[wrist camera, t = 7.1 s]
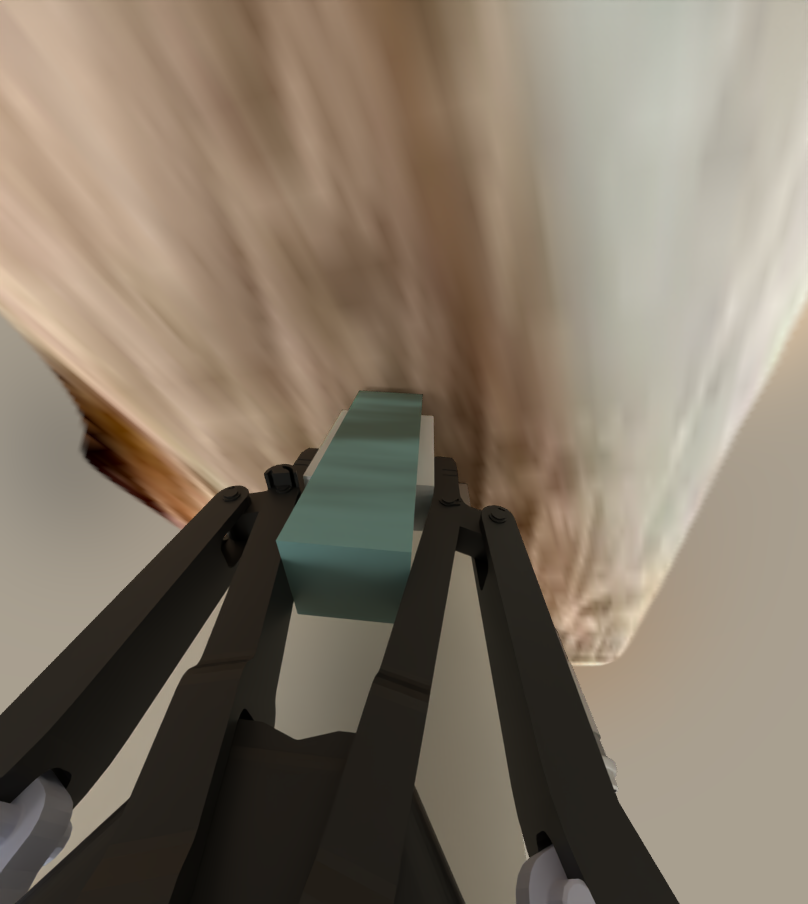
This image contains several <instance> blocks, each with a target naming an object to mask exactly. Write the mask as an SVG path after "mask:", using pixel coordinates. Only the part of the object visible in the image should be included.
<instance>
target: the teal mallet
mask: <svg viewBox="0 0 808 904" xmlns="http://www.w3.org/2000/svg"><path fill="white" fill-rule="evenodd" d="M422 397H423V394H407V393H391V392H375V391H359V392H358V394H357V396H356V398H355V399H354V401H353V403H352V405H351V407H350V408H349V410H348V412H347V414H346V416H345V417H344V419H343V421H342V423H341V425H340V426H339V428H338V430H337V432H336V434H335V435H334V437H333V439H332V441H331V443H330V444H329V446H328V448H327V450H326V451H325V453H324V455H323V457H322V459H321V460H320V462H319V464H318V466H317V468H316V469H315V471H314V473H313V475H312V477H311V478H310V480H309V482H308V484H307V486H306V487H305V489H304V491H303V493H302V495H301V496H300V498H299V500H298V502H297V504H296V505H295V507H294V509H293V511H292V513H291V514H290V516H289V518H288V520H287V522H286V523H285V525H284V527H283V529H282V531H281V532H280V534H279V536H278V538H277V539H276V543H277V546H278V549H279V553H280V556H281V559H282V563H283V566H284V570H285V573H286V576H287V580H288V583H289V586H290V590H291V593H292V597H293V600H294V603H295V607H296V610H297V613H298V614H301V615H311V616H321V617H331V618H341V619H351V620H361V621H371V622H381V623H391V624H394V622H395V618H396V615H397V612H398V609H399V606H400V602H401V599H402V596H403V593H404V590H405V586H406V583H407V580H408V577H409V574H410V568H411V554H412V540H413V526H414V512H415V497H416V483H417V469H418V454H419V440H420V426H421V411H422Z"/></svg>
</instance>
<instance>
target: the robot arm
mask: <svg viewBox="0 0 808 904" xmlns="http://www.w3.org/2000/svg"><path fill="white" fill-rule="evenodd" d="M347 412H348V410H342V411H341V413H340V415H339V416H338V418H337V420H336V421H335V423H334V425H333V426H332V428H331V430H330V431H329V433H328V435H327V436H326V438H325V440H324V441H323V443H322V445H321V446H320V448H319V449H316V448H308V449H306V450H305V451H304V452H302V453H301V454H300V456H299V457H298V459H297V460H296V462H295V463H294V465H293V466H292V465H289V464H281V465H276V466H273V467H271V468H269V469H268V470H267V471H266V472H265V473H264V476H265V479H266V483H267V487H268V490H267V491H264V492H258V493H250V494H249V491H248V489H247V488H246V487H243V486H232V487H228V488H225V489H223V490H221V491H220V492H219V493H217V494H216V495H215V496H214V497H213V498H212V499H211V500H210V501H209V502H208V503H207V505H206V506H205V507H204V508H203V509H202V510H201V511H200V512H199V513H198V514H197V515H196V516H195V517H194V518H193V519H192V520H191V521H190V522H189V523H188V524H187V525H186V526H185V527H184V528H183V529H182V530H181V531H180V532H179V533H178V534H177V535H176V536H175V537H174V538H173V539H172V541H170V542H169V543H168V544H167V545H166V546H165V547H164V549H162V550H161V551H160V553H159V554H158V555H157V556H156V557H155V558H154V559H153V560H152V561H151V562H150V563H149V564H148V565H147V566H146V567H145V568H144V569H143V570H142V571H141V572H140V573H139V574H138V575H137V576H136V577H135V578H134V579H133V580H132V581H131V582H130V583H129V584H128V585H127V586H126V587H125V588H124V589H123V590H122V591H121V592H120V593H119V594H118V595H117V596H116V598H115V599H114V600H113V601H112V602H111V603H110V604H109V605H108V606H107V607H106V608H105V609H104V610H103V611H102V612H101V613H100V614H99V615H98V616H97V617H96V618H95V619H94V620H93V621H92V622H91V623H90V624H89V625H88V626H87V627H86V628H85V629H84V630H83V631H82V632H81V633H80V634H79V635H78V636H77V637H76V638H75V639H74V640H73V641H72V642H71V643H70V644H69V645H68V647H67V648H66V649H65V650H64V651H63V652H62V653H61V654H60V655H59V656H58V657H57V658H56V659H55V660H54V661H53V662H52V663H51V664H50V665H49V666H48V667H47V668H46V669H45V670H44V671H43V672H42V673H41V674H40V675H39V676H38V677H37V678H36V679H35V680H34V681H33V682H32V683H31V684H30V685H29V687H27V688H26V690H25V691H24V692H22V694H21V695H20V696H19V697H18V698H17V699H16V700H15V701H14V702H13V703H12V704H11V705H10V706H9V707H8V708H7V709H6V710H5V711H4V712H3V713H2V714H1V715H0V904H465V901H464V899H463V897H462V894H461V892H460V890H459V887H458V885H457V883H456V880H455V878H454V876H453V873H452V871H451V869H450V866H449V864H448V862H447V859H446V857H445V855H444V852H443V850H442V848H441V845H440V843H439V841H438V838H437V836H436V834H435V831H434V829H433V827H432V824H431V822H430V820H429V817H428V815H427V813H426V810H425V808H424V806H423V803H422V801H421V799H420V796H419V794H418V792H417V789H416V787H415V779H416V773H417V768H418V762H419V756H420V751H421V745H422V739H423V734H424V728H425V722H426V716H427V711H428V705H429V699H430V692H431V686H432V680H433V675H434V669H435V663H436V658H437V652H438V646H439V641H440V635H441V629H442V624H443V618H444V612H445V607H446V601H447V595H448V590H449V584H450V578H451V573H452V567H453V561H454V556H455V551H457V552H460V553H463V554H465V555H468V556H471V559H472V565H473V571H474V576H475V582H476V588H477V594H478V599H479V605H480V611H481V617H482V622H483V628H484V634H485V640H486V645H487V651H488V657H489V662H490V668H491V674H492V680H493V685H494V691H495V697H496V703H497V708H498V714H499V720H500V726H501V731H502V737H503V743H504V749H505V754H506V760H507V766H508V771H509V777H510V783H511V788H512V793H513V798H514V802H515V807H516V812H517V816H518V820H519V824H520V827H521V831H522V834H523V837H524V841H525V845H526V848H527V852H528V855H529V857H530V858H529V859H528V860H527V861H526V862H525V863H524V864H523V865H522V867H521V869H520V872H519V874H518V878H517V884H516V904H679V902H678V901H677V899H676V897H675V895H674V894H673V892H672V890H671V889H670V887H669V885H668V884H667V882H666V880H665V879H664V877H663V875H662V874H661V872H660V870H659V869H658V867H657V865H656V864H655V862H654V861H653V859H652V857H651V855H650V854H649V852H648V850H647V849H646V847H645V846H644V844H643V842H642V840H641V839H640V837H639V835H638V834H637V832H636V830H635V829H634V827H633V825H632V824H631V822H630V820H629V819H628V817H627V815H626V814H625V812H624V810H623V809H622V807H621V805H620V804H619V802H618V799H617V796H616V793H615V791H614V788H613V785H612V782H611V780H610V777H609V774H608V771H607V769H606V766H605V763H604V761H603V758H602V755H601V752H600V750H599V747H598V744H597V742H596V739H595V736H594V733H593V731H592V728H591V725H590V723H589V720H588V717H587V714H586V712H585V709H584V706H583V703H582V701H581V698H580V695H579V693H578V690H577V687H576V684H575V682H574V679H573V676H572V674H571V671H570V668H569V665H568V663H567V660H566V657H565V655H564V652H563V649H562V646H561V644H560V641H559V638H558V636H557V633H556V630H555V627H554V625H553V622H552V619H551V616H550V614H549V611H548V608H547V606H546V603H545V600H544V597H543V595H542V592H541V589H540V587H539V584H538V581H537V578H536V576H535V573H534V570H533V568H532V565H531V562H530V559H529V557H528V554H527V551H526V548H525V546H524V543H523V540H522V538H521V535H520V532H519V529H518V527H517V524H516V521H515V519H514V517H513V515H512V513H511V512H509V511H508V510H507V509H505V508H503V507H501V506H495V505H493V506H487V507H485V508H484V509H483V510H482V511H481V510H478V509H475V508H472V507H470V506H468V505H467V504H465V503H464V502H463V499H462V498H461V496H460V490H459V482H458V473H457V465H456V463H455V461H454V460H453V459H452V458H447V457H434V416H426V415H421V426H420V440H419V454H418V469H417V483H416V497H415V512H414V526H413V530H414V531H423V532H422V535H421V538H420V541H419V545H418V548H417V551H416V554H415V557H414V561H413V564H412V567H411V570H410V574H409V577H408V580H407V583H406V586H405V590H404V593H403V596H402V599H401V602H400V606H399V609H398V612H397V615H396V618H395V622H394V625H393V628H392V631H391V635H390V638H389V641H388V644H387V647H386V651H385V654H384V657H383V660H382V663H381V666H380V669H379V671H378V673H377V674H376V675H375V678H374V680H373V682H372V685H371V688H370V691H369V694H368V697H367V700H366V703H365V706H364V709H363V712H362V715H361V719H360V722H359V725H358V728H357V731H356V733H353V732H344V731H336V732H332V733H327V734H323V735H318V736H314V737H309V738H305V739H300V740H297V739H294V738H292V737H290V736H288V735H286V734H284V733H283V732H281V731H279V730H277V729H275V728H274V727H275V717H276V704H275V700H276V691H277V686H278V681H279V675H280V670H281V665H282V660H283V655H284V649H285V644H286V639H287V634H288V628H289V623H290V618H291V613H292V608H293V602H294V600H293V597H292V593H291V590H290V586H289V583H288V580H287V576H286V573H285V570H284V566H283V563H282V559H281V556H280V553H279V549H278V546H277V543H276V539H277V538H278V536H279V534H280V532H281V531H282V529H283V527H284V525H285V523H286V522H287V520H288V518H289V516H290V514H291V513H292V511H293V509H294V507H295V505H296V504H297V502H298V500H299V498H300V496H301V495H302V493H303V491H304V489H305V487H306V486H307V484H308V482H309V480H310V478H311V477H312V475H313V473H314V471H315V469H316V468H317V466H318V464H319V462H320V460H321V459H322V457H323V455H324V453H325V451H326V450H327V448H328V446H329V444H330V443H331V441H332V439H333V437H334V435H335V434H336V432H337V430H338V428H339V426H340V425H341V423H342V421H343V419H344V417H345V416H346V414H347ZM226 534H227V535H226ZM225 535H226V536H225ZM228 588H229V589H228ZM227 589H228V591H227ZM226 591H227V594H226V597H225V599H224V602H223V604H222V607H221V609H220V612H219V614H218V617H217V619H216V622H215V624H214V627H213V629H212V632H211V634H210V637H209V639H208V642H207V645H206V647H205V650H204V652H203V655H202V657H201V659H200V661H199V662H198V664H197V665H195V666H193V667H191V668H189V669H188V670H187V671H186V672H185V673H184V675H183V676H182V678H181V680H180V682H179V684H178V685H177V688H176V690H175V692H174V695H173V697H172V699H171V702H170V704H169V706H168V709H167V711H166V714H165V716H164V718H163V721H162V723H161V725H160V728H159V730H158V732H157V735H156V737H155V739H154V742H153V744H152V746H151V749H150V751H149V753H148V756H147V758H146V760H145V763H144V765H143V768H142V770H141V772H140V775H139V777H138V779H137V782H136V784H135V786H134V789H133V791H132V793H131V796H130V798H129V799H128V800H127V801H125V802H124V803H123V804H122V805H121V806H120V807H119V808H118V809H117V810H116V811H115V812H114V813H112V814H111V815H110V816H109V817H108V818H107V819H106V820H105V821H104V822H103V823H102V824H101V825H99V826H98V827H97V828H96V829H95V830H94V831H93V832H92V833H91V834H90V835H89V836H88V837H86V838H85V839H84V840H83V841H82V842H81V843H80V844H79V845H78V846H77V847H76V848H75V849H73V850H72V851H71V852H70V853H69V854H68V855H67V856H66V857H65V858H64V859H63V860H62V861H60V862H59V863H58V864H57V865H56V866H55V867H54V868H53V869H52V870H51V871H50V872H48V873H47V874H46V875H45V876H44V877H43V878H42V879H41V880H40V881H39V882H38V883H37V884H35V885H34V886H33V887H32V888H31V889H30V890H29V888H30V886H31V884H32V883H33V881H34V879H35V877H36V875H37V873H38V872H39V870H40V869H41V868H42V866H45V865H46V864H48V863H49V862H51V861H52V860H53V859H55V858H56V856H57V855H58V854H59V853H60V852H61V851H62V850H63V848H64V847H65V845H66V843H67V842H68V840H69V838H70V835H71V832H72V824H71V821H70V819H71V816H72V811H73V809H74V808H75V807H76V806H77V805H78V803H79V802H80V801H81V800H82V799H83V798H84V797H85V795H86V794H87V793H88V792H89V791H90V789H91V788H92V787H93V786H94V784H95V783H96V782H97V781H98V779H99V778H100V777H101V776H102V774H103V773H104V772H105V771H106V769H107V768H108V767H109V766H110V764H111V763H112V761H113V760H114V759H115V757H116V756H117V754H118V753H119V751H120V750H121V749H122V747H123V746H124V744H125V743H126V742H127V740H128V739H129V737H130V736H131V734H132V733H133V731H134V730H135V728H136V727H137V725H138V724H139V722H140V721H141V719H142V718H143V716H144V715H145V713H146V712H147V710H148V709H149V707H150V706H151V704H152V702H153V701H154V699H155V698H156V696H157V695H158V693H159V692H160V690H161V689H162V687H163V686H164V684H165V683H166V681H167V680H168V678H169V677H170V675H171V674H172V672H173V671H174V669H175V668H176V666H177V665H178V663H179V662H180V660H181V659H182V657H183V656H184V654H185V653H186V651H187V650H188V648H189V647H190V645H191V644H192V642H193V641H194V639H195V638H196V636H197V635H198V633H199V632H200V630H201V629H202V627H203V626H204V624H205V622H206V621H207V619H208V618H209V616H210V615H211V613H212V612H213V610H214V609H215V607H216V606H217V604H218V603H219V601H220V600H221V598H222V597H223V595H224V594H225V592H226ZM28 890H29V891H28Z"/></svg>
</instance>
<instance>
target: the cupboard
mask: <svg viewBox="0 0 808 904" xmlns="http://www.w3.org/2000/svg"><path fill="white" fill-rule="evenodd" d="M459 490H460V496H461V498H462V499H463V502H464V503H465V504H467V505H468V506H470V507H471V505H470V499H469V492H468V486H467V484H460V483H459ZM422 532H423V531H414V530H413V540H412V554H411V567H412V564H413V561H414V557H415V554H416V551H417V548H418V545H419V541H420V538H421V535H422ZM410 570H411V568H410ZM228 589H229V588H228ZM228 589H227V591H228ZM227 591H226V592H225V594H224V595H223V597H222V598H221V600H220V601H219V603H218V604H217V606H216V607H215V609H214V610H213V612H212V613H211V615H210V616H209V618H208V619H207V621H206V622H205V624H204V626H203V627H202V629H201V630H200V632H199V633H198V635H197V636H196V638H195V639H194V641H193V642H192V644H191V645H190V647H189V648H188V650H187V651H186V653H185V654H184V656H183V657H182V659H181V660H180V662H179V663H178V665H177V666H176V668H175V669H174V671H173V672H172V674H171V675H170V677H169V678H168V680H167V681H166V683H165V684H164V686H163V687H162V689H161V690H160V692H159V693H158V695H157V696H156V698H155V699H154V701H153V702H152V704H151V706H150V707H149V709H148V710H147V712H146V713H145V715H144V716H143V718H142V719H141V721H140V722H139V724H138V725H137V727H136V728H135V730H134V731H133V733H132V734H131V736H130V737H129V739H128V740H127V742H126V743H125V744H124V746H123V747H122V749H121V750H120V751H119V753H118V754H117V756H116V757H115V759H114V760H113V761H112V763H111V764H110V766H109V767H108V768H107V769H106V771H105V772H104V773H103V774H102V776H101V777H100V778H99V779H98V781H97V782H96V783H95V784H94V786H93V787H92V788H91V789H90V791H89V792H88V793H87V794H86V795H85V797H84V798H83V799H82V800H81V801H80V802H79V803H78V805H77V806H76V807H75V808H74V809H73V811H72V816H71V819H70V821H71V824H72V832H71V835H70V838H69V840H68V842H67V843H66V845H65V847H64V848H63V850H62V851H61V852H60V853H59V854H58V855H57V856H56V858H55V859H53V860H52V861H51V862H49V863H48V864H46V865H45V866H42V868H41V869H40V870H39V872H38V873H37V875H36V877H35V879H34V881H33V883H32V884H31V886H30V888H29V890H30V889H31V888H32V887H33V886H34V885H35V884H37V883H38V882H39V881H40V880H41V879H42V878H43V877H44V876H45V875H46V874H47V873H48V872H50V871H51V870H52V869H53V868H54V867H55V866H56V865H57V864H58V863H59V862H60V861H62V860H63V859H64V858H65V857H66V856H67V855H68V854H69V853H70V852H71V851H72V850H73V849H75V848H76V847H77V846H78V845H79V844H80V843H81V842H82V841H83V840H84V839H85V838H86V837H88V836H89V835H90V834H91V833H92V832H93V831H94V830H95V829H96V828H97V827H98V826H99V825H101V824H102V823H103V822H104V821H105V820H106V819H107V818H108V817H109V816H110V815H111V814H112V813H114V812H115V811H116V810H117V809H118V808H119V807H120V806H121V805H122V804H123V803H124V802H125V801H127V800H128V799H129V798H130V796H131V793H132V791H133V789H134V786H135V784H136V782H137V779H138V777H139V775H140V772H141V770H142V768H143V765H144V763H145V760H146V758H147V756H148V753H149V751H150V749H151V746H152V744H153V742H154V739H155V737H156V735H157V732H158V730H159V728H160V725H161V723H162V721H163V718H164V716H165V714H166V711H167V709H168V706H169V704H170V702H171V699H172V697H173V695H174V692H175V690H176V688H177V685H178V684H179V682H180V680H181V678H182V676H183V675H184V673H185V672H186V671H187V670H188V669H189V668H191V667H193V666H195V665H197V664H198V662H199V661H200V659H201V657H202V655H203V652H204V650H205V647H206V645H207V642H208V639H209V637H210V634H211V632H212V629H213V627H214V624H215V622H216V619H217V617H218V614H219V612H220V609H221V607H222V604H223V602H224V599H225V597H226V594H227ZM393 625H394V624H391V623H381V622H371V621H361V620H351V619H341V618H331V617H321V616H311V615H301V614H298V613H297V610H296V607H295V603H294V602H293V608H292V613H291V618H290V623H289V628H288V634H287V639H286V644H285V649H284V655H283V660H282V665H281V670H280V675H279V681H278V686H277V691H276V700H275V704H276V717H275V727H274V728H275V729H277V730H279V731H281V732H283V733H284V734H286V735H288V736H290V737H292V738H294V739H297V740H300V739H305V738H309V737H314V736H318V735H323V734H327V733H332V732H336V731H344V732H353V733H356V731H357V728H358V725H359V722H360V719H361V715H362V712H363V709H364V706H365V703H366V700H367V697H368V694H369V691H370V688H371V685H372V682H373V680H374V678H375V675H376V674H377V673H378V671H379V669H380V666H381V663H382V660H383V657H384V654H385V651H386V647H387V644H388V641H389V638H390V635H391V631H392V628H393ZM415 787H416V789H417V792H418V794H419V796H420V799H421V801H422V803H423V806H424V808H425V810H426V813H427V815H428V817H429V820H430V822H431V824H432V827H433V829H434V831H435V834H436V836H437V838H438V841H439V843H440V845H441V848H442V850H443V852H444V855H445V857H446V859H447V862H448V864H449V866H450V869H451V871H452V873H453V876H454V878H455V880H456V883H457V885H458V887H459V890H460V892H461V894H462V897H463V899H464V901H465V904H516V884H517V878H518V874H519V872H520V869H521V867H522V865H523V864H524V863H525V862H526V855H525V849H524V842H523V836H522V831H521V827H520V824H519V820H518V816H517V812H516V807H515V802H514V798H513V793H512V788H511V783H510V777H509V771H508V766H507V760H506V754H505V749H504V743H503V737H502V731H501V726H500V720H499V714H498V708H497V703H496V697H495V691H494V685H493V680H492V674H491V668H490V662H489V657H488V651H487V645H486V640H485V634H484V628H483V622H482V617H481V611H480V605H479V599H478V594H477V588H476V582H475V576H474V571H473V565H472V559H471V556H468V555H465V554H463V553H460V552H457V551H455V556H454V561H453V567H452V573H451V578H450V584H449V590H448V595H447V601H446V607H445V612H444V618H443V624H442V629H441V635H440V641H439V646H438V652H437V658H436V663H435V669H434V675H433V680H432V686H431V692H430V699H429V705H428V711H427V716H426V722H425V728H424V734H423V739H422V745H421V751H420V756H419V762H418V768H417V773H416V779H415ZM29 890H28V891H29Z"/></svg>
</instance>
